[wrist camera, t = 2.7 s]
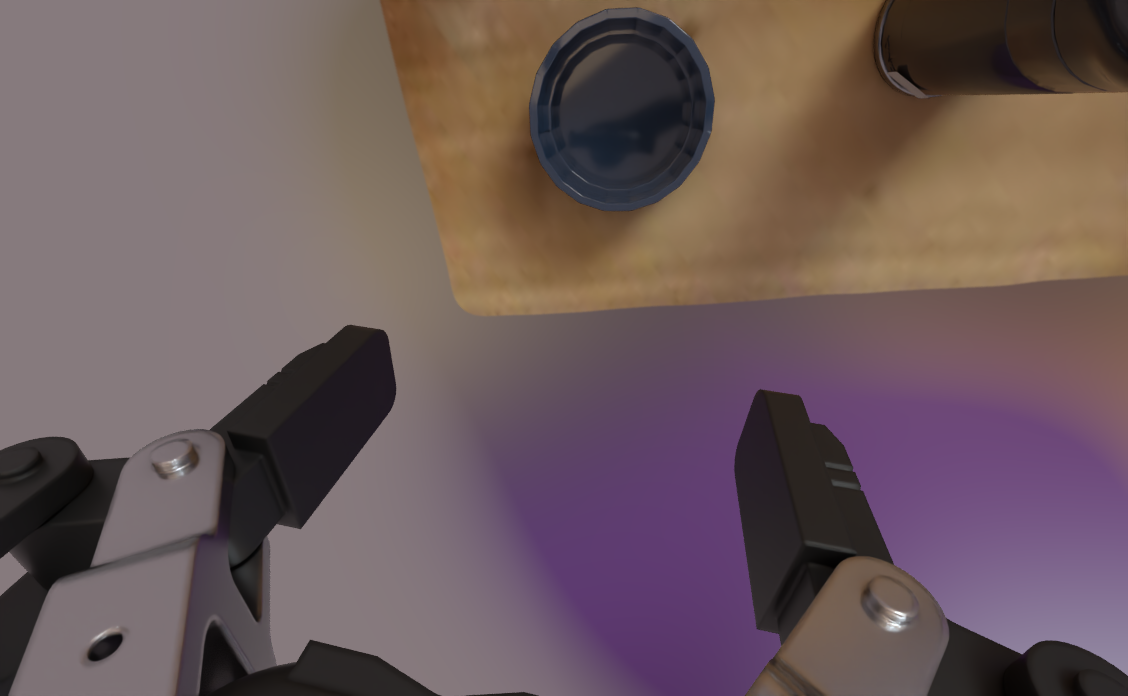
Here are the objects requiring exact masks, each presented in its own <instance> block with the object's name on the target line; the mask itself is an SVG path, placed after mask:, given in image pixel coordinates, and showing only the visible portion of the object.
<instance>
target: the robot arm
mask: <svg viewBox="0 0 1128 696" xmlns="http://www.w3.org/2000/svg"><path fill="white" fill-rule="evenodd" d="M874 55H875V61H876V64H877V67H878V70H879V72H880V74H881V76H882V77H883V78H884V80H885V81H886V82H887V83H888V84H889V85H890V86H891V87H892V88H894V89H895V90H897V91H898V92H901V93H903V94H906V95H909V96H914V97H917V98H929V97H936V96H942V95H1010V94H1072V93H1116V92H1128V0H886V2H885V4H884V6H883V8H882V11H881V13H880V16H879V19H878V22H877V25H876V30H875V36H874ZM395 395H396V382H395V376H394V370H393V364H392V358H391V352H390V346H389V340H388V336H387V334H386V332H384V331H383V330H380V329H374V328H367V327H361V326H354V325H347V326H345V327H344V328H343V329H342V330H340V331H339V332H338V333H337V334H336V335H335V336H334V337H332V338H331V339H330V340H329V341H328V342H327V343H322V344H320V345H317V346H315V347H313V348H311V349H309V350H307V351H305V352H303V353H301V354H299V355H298V356H296V357H295V358H294V359H293V360H292V361H290V362H289V363H288V364H287V365H286V366H285V367H283V368H282V371H281V372H278V373H276V374H275V375H274V376H273V377H272V378H270V379H269V380H268V381H267V384H266V385H265V384H263V385H262V386H261V387H260V388H258V389H257V390H256V391H255V392H254V393H253V394H251V395H250V396H249V397H248V398H247V399H245V400H244V401H243V402H242V403H241V404H240V405H238V406H237V407H236V408H235V409H234V410H233V411H231V412H230V413H229V414H228V415H227V416H225V417H224V418H223V419H222V420H221V421H219V422H218V423H217V424H216V425H215V426H213V427H212V428H211V429H210V430H204V429H194V430H186V431H180V432H177V433H173V434H170V435H167V436H164V437H162V438H160V439H157V440H155V441H153V442H152V443H150V444H148V445H146V446H145V447H143V448H142V449H140V450H139V451H138V452H137V453H135V454H134V455H133V456H132V457H131V458H118V459H103V460H87V458H86V457H85V456H84V454H83V453H82V451H81V450H80V448H79V447H78V445H77V444H76V443H75V442H74V441H73V440H71V439H68V438H64V437H45V438H38V439H33V440H29V441H25V442H22V443H19V444H16V445H13V446H10V447H8V448H5V449H3V450H0V558H2V557H3V556H4V555H5V554H6V553H8V552H10V553H11V554H12V555H13V556H14V558H16V559H17V561H18V562H19V563H20V564H21V565H22V566H23V567H24V568H25V569H26V570H27V571H28V572H27V573H26V574H25V575H24V576H22V577H21V578H20V579H19V580H18V581H17V582H16V583H14V584H13V585H12V586H11V587H10V588H9V589H8V590H6V591H5V592H4V593H3V594H2V595H1V596H0V696H440V695H437V694H436V693H434V692H432V691H430V690H429V689H427V688H426V687H424V686H423V685H421V684H420V683H418V682H416V681H415V680H413V679H412V678H410V677H409V676H407V675H406V674H404V673H402V672H401V671H399V670H398V669H396V668H395V667H393V666H391V665H390V664H388V663H387V662H385V661H383V660H382V659H381V658H379V657H378V656H374V655H370V654H366V653H362V652H358V651H354V650H350V649H346V648H341V647H337V646H333V645H329V644H325V643H321V642H317V641H313V640H310V641H309V643H308V644H307V646H306V647H305V649H304V651H303V652H302V654H301V656H300V657H299V659H298V661H297V662H294V663H288V664H283V665H278V666H277V664H276V659H275V655H274V652H273V648H272V643H271V636H270V543H269V540H268V538H267V535H268V534H269V532H270V531H271V530H272V529H273V528H274V526H275V525H276V524H279V525H284V526H289V527H294V528H298V529H301V528H302V527H303V526H304V524H305V523H306V522H307V520H308V519H309V518H310V516H311V515H312V514H313V512H314V511H315V510H316V508H317V507H318V506H319V504H320V503H321V502H322V500H323V499H324V498H325V497H326V495H327V494H328V492H329V491H330V490H331V489H332V487H333V486H334V485H335V483H336V482H337V481H338V479H339V478H340V476H341V475H342V474H343V473H344V471H345V470H346V469H347V468H348V466H349V465H350V464H351V462H352V461H353V460H354V458H355V457H356V456H357V454H358V453H359V452H360V450H361V449H362V448H363V446H364V445H365V444H366V442H367V441H368V440H369V438H370V437H371V436H372V435H373V433H374V432H375V431H376V429H377V428H378V427H379V425H380V424H381V423H382V421H383V420H384V419H385V417H386V416H387V415H388V413H389V412H390V410H391V408H392V406H393V404H394V400H395ZM734 467H735V479H736V487H737V493H738V501H739V508H740V515H741V522H742V529H743V536H744V543H745V550H746V556H747V563H748V570H749V578H750V585H751V592H752V599H753V606H754V612H755V619H756V627H757V629H759V630H764V631H768V632H772V633H778V634H779V636H780V641H781V648H780V649H779V651H778V652H777V653H776V655H775V656H774V658H773V659H771V660H770V661H769V662H768V664H767V665H766V666H765V668H764V669H763V671H762V672H761V673H760V675H759V676H758V678H757V679H756V681H755V682H754V683H753V685H752V686H751V688H750V689H749V691H748V692H747V693H746V695H745V696H1128V676H1127V675H1126V674H1125V673H1123V672H1122V671H1121V670H1119V669H1118V668H1117V667H1115V666H1114V665H1112V664H1110V663H1109V662H1107V661H1106V660H1104V659H1102V658H1101V657H1099V656H1097V655H1095V654H1093V653H1091V652H1089V651H1087V650H1085V649H1082V648H1080V647H1078V646H1075V645H1072V644H1069V643H1065V642H1060V641H1042V642H1038V643H1037V644H1035V645H1033V646H1032V647H1031V648H1030V649H1028V650H1027V651H1026V652H1025V653H1024V654H1020V653H1018V652H1015V651H1013V650H1011V649H1009V648H1007V647H1005V646H1003V645H1000V644H998V643H996V642H994V641H992V640H990V639H988V638H985V637H983V636H981V635H979V634H977V633H975V632H972V631H970V630H968V629H966V628H964V627H962V626H960V625H958V624H956V623H954V622H952V621H950V620H949V619H947V618H946V617H945V615H944V613H943V611H942V609H941V607H940V606H939V604H938V602H937V601H936V600H935V598H934V597H933V596H932V595H931V593H930V592H929V591H928V590H927V589H926V588H925V587H924V586H923V585H922V584H921V583H920V582H918V581H917V580H916V579H915V578H914V577H912V576H911V575H909V574H908V573H907V572H905V571H904V570H902V569H900V568H898V567H897V566H895V565H894V564H893V561H892V559H891V557H890V554H889V552H888V549H887V547H886V544H885V542H884V540H883V538H882V535H881V533H880V530H879V528H878V525H877V523H876V521H875V519H874V516H873V514H872V511H871V509H870V507H869V504H868V502H867V500H866V497H865V495H864V492H863V491H861V490H860V487H861V485H860V483H859V480H858V478H857V476H856V473H855V472H853V466H852V464H851V462H850V459H849V457H848V454H847V452H846V450H845V447H844V445H843V444H842V443H841V442H840V441H839V440H838V439H837V438H836V437H835V436H834V435H833V433H832V432H831V431H830V430H829V429H828V428H827V427H826V426H825V425H821V424H815V423H810V421H809V417H808V415H807V412H806V409H805V406H804V403H803V401H802V398H801V397H800V396H799V395H793V394H786V393H780V392H774V391H767V390H761V389H760V390H758V392H757V393H756V395H755V397H754V400H753V402H752V405H751V408H750V411H749V414H748V417H747V419H746V422H745V425H744V428H743V431H742V434H741V437H740V439H739V442H738V445H737V449H736V455H735V466H734ZM469 696H537V695H533V694H529V693H525V692H519V693H502V694H487V695H469Z"/></svg>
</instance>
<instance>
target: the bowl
mask: <svg viewBox="0 0 1128 696" xmlns="http://www.w3.org/2000/svg"><path fill="white" fill-rule="evenodd" d="M714 99H715V98H714V92H713V87H712V82H711V77H710V72H709V68H708V65H707V63H706V62H705V60H704V58H703V56H702V55H701V53H700V51H699V49H698V47H697V46H696V44H695V42H694V40H693V39H692V38H691V37H690V36H689V35H688V34H687V33H685V32H684V31H683V30H682V29H681V28H680V27H678V26H677V25H676V24H675V23H674V22H673V21H671V20H670V19H669V18H667V17H665V16H662V15H659V14H656V13H653V12H650V11H647V10H645V9H642V8H637V7H636V8H615V9H607V10H606V9H605V10H603V11H601V12H598V13H596V14H594V15H591V16H589V17H587V18H585V19H582V20H580V21H578V22H577V23H575V24H574V25H573V26H572V27H571V28H570V29H569V30H568V31H567V32H565V33H564V34H563V35H562V36H561V37H560V38H559V39H558V40H557V41H556V42H555V43H554V44H553V45H552V46H551V48H550V50H549V52H548V54H547V55H546V57H545V59H544V61H543V62H542V64H541V66H540V68H539V69H538V71H537V73H536V77H535V81H534V86H533V90H532V94H531V98H530V103H529V113H530V133H531V138H532V141H533V144H534V147H535V150H536V152H537V155H538V158H539V161H540V163H541V165H542V167H543V168H544V169H545V171H546V172H547V174H548V175H549V176H550V178H551V179H552V180H553V182H554V183H555V185H556V186H557V187H558V188H560V189H561V190H562V191H564V192H565V193H566V194H568V195H569V196H570V197H572V198H573V199H574V200H576V201H577V202H579V203H581V204H584V205H587V206H590V207H593V208H596V209H599V210H602V211H632V210H635V209H638V208H641V207H644V206H647V205H650V204H653V203H656V202H658V201H660V200H661V199H662V198H664V197H665V196H667V195H668V194H670V193H671V192H672V191H674V190H675V189H677V188H678V187H679V186H680V185H681V184H682V183H683V182H684V181H685V179H686V178H687V177H688V176H689V174H690V173H691V172H692V170H693V169H694V168H695V167H696V165H697V164H698V163H699V161H700V159H701V157H702V154H703V152H704V149H705V147H706V144H707V142H708V139H709V137H710V134H711V131H712V122H713V112H714V103H715V100H714Z"/></svg>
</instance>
